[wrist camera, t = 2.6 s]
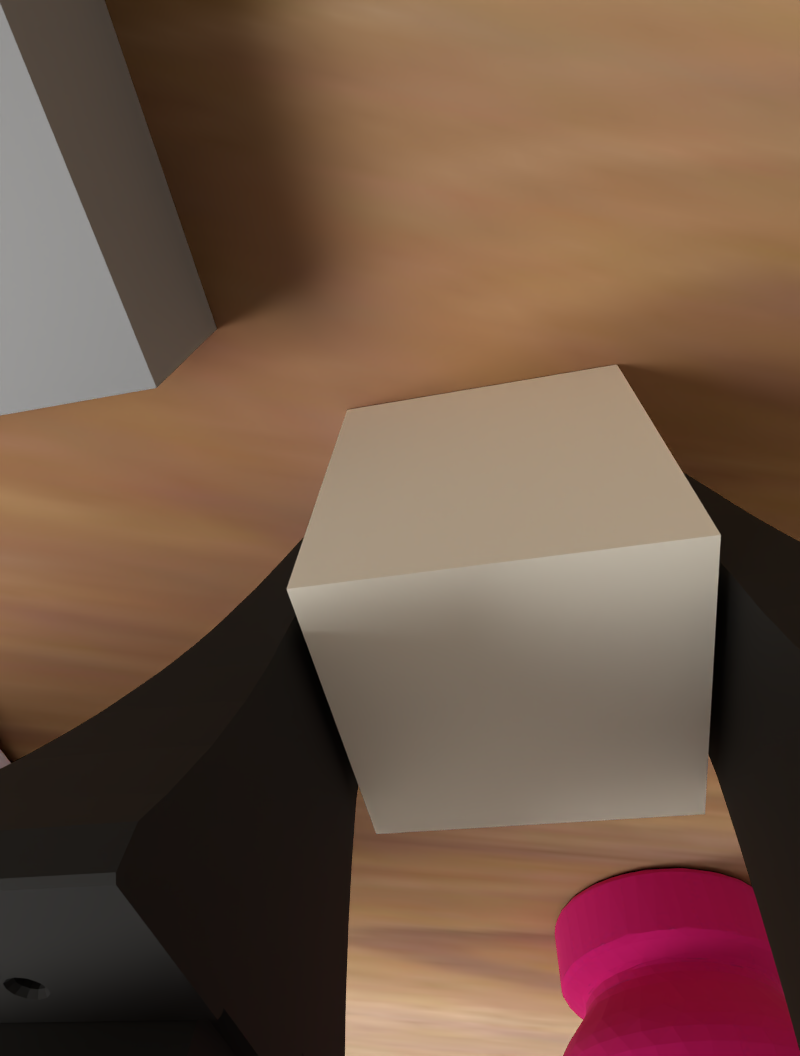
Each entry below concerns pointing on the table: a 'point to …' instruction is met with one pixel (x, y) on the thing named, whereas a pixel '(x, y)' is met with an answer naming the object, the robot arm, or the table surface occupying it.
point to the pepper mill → (671, 968)
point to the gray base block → (84, 219)
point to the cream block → (513, 608)
